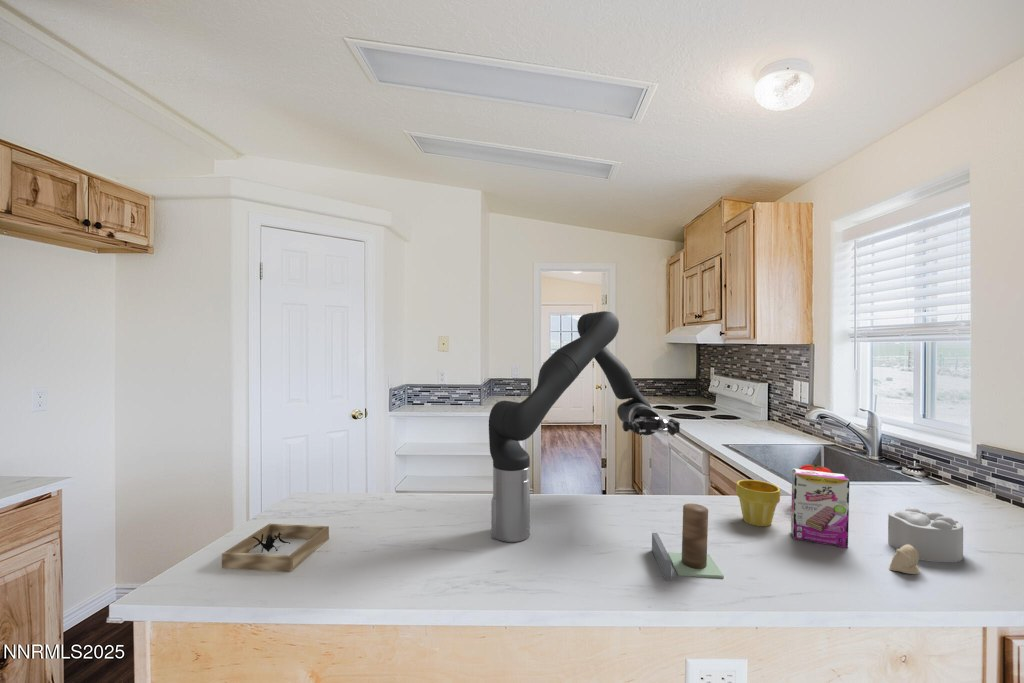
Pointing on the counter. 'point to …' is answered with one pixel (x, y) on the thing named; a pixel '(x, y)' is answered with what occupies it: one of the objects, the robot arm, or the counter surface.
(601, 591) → the counter surface
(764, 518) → the plant pot
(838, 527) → the candy bar box
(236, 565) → the wooden frame
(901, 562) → the decorative ornament
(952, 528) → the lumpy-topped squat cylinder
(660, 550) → the low wall
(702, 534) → the walnut canister
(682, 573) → the pad
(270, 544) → the creature
